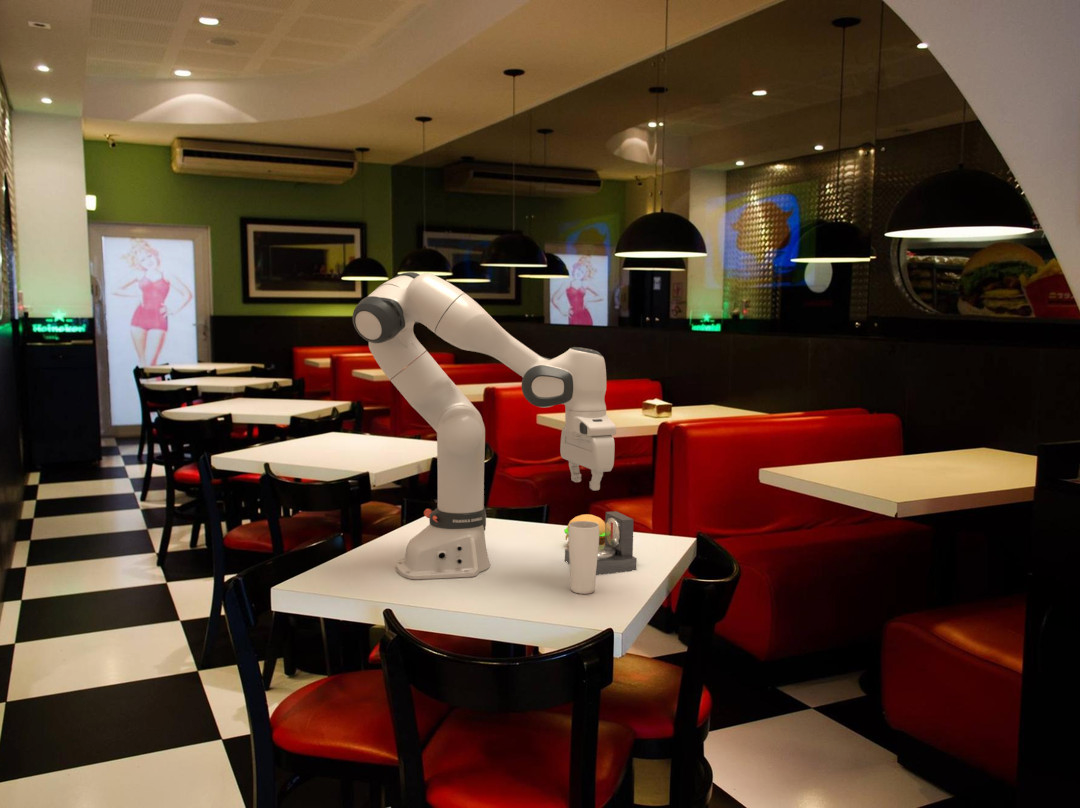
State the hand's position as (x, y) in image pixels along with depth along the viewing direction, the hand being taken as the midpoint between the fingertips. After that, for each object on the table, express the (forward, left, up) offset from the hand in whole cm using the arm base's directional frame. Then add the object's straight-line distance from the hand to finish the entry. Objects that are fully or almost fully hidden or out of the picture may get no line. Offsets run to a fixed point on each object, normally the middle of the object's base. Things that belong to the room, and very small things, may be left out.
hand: (585, 485), depth 184 cm
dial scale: (+12, +16, -24) cm, 31 cm away
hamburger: (+16, +32, -24) cm, 43 cm away
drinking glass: (0, 0, -24) cm, 24 cm away
